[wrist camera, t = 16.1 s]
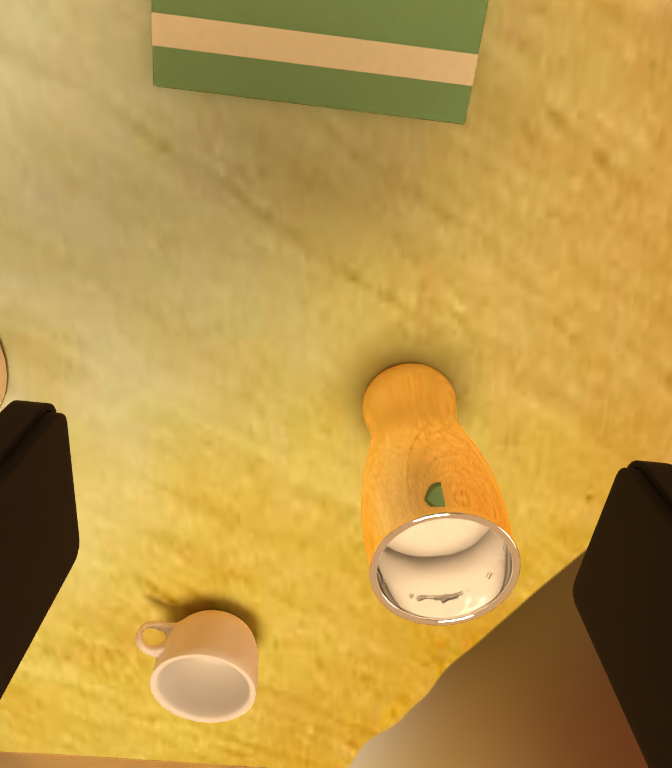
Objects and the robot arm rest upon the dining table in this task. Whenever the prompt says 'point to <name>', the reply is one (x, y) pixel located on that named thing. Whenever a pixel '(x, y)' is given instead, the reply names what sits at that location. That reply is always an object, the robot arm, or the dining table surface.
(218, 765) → the robot arm
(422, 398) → the beer glass
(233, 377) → the dining table surface
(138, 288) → the dining table surface
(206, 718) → the teacup
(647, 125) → the dining table surface
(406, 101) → the towel
